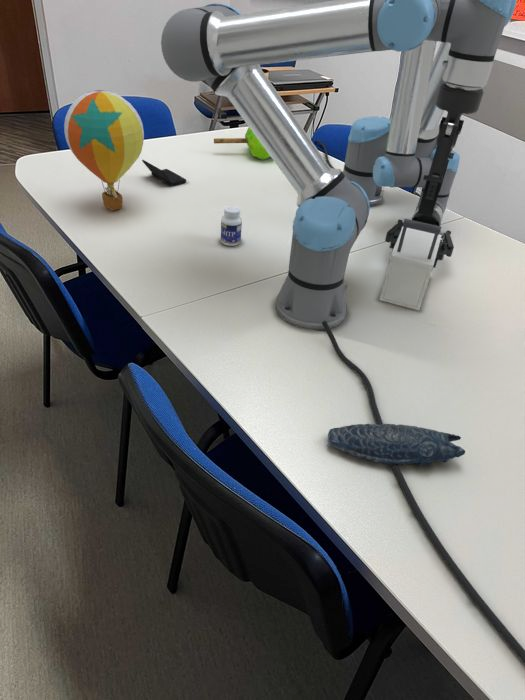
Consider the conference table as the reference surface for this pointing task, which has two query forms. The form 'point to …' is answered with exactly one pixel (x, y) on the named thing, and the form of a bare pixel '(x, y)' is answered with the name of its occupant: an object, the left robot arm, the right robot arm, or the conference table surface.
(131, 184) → the conference table surface
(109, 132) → the toy
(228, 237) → the pill bottle
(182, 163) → the conference table surface
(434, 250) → the lid
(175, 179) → the black block with spike
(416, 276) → the chest
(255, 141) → the decorative tree
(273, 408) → the conference table surface
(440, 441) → the fish model
